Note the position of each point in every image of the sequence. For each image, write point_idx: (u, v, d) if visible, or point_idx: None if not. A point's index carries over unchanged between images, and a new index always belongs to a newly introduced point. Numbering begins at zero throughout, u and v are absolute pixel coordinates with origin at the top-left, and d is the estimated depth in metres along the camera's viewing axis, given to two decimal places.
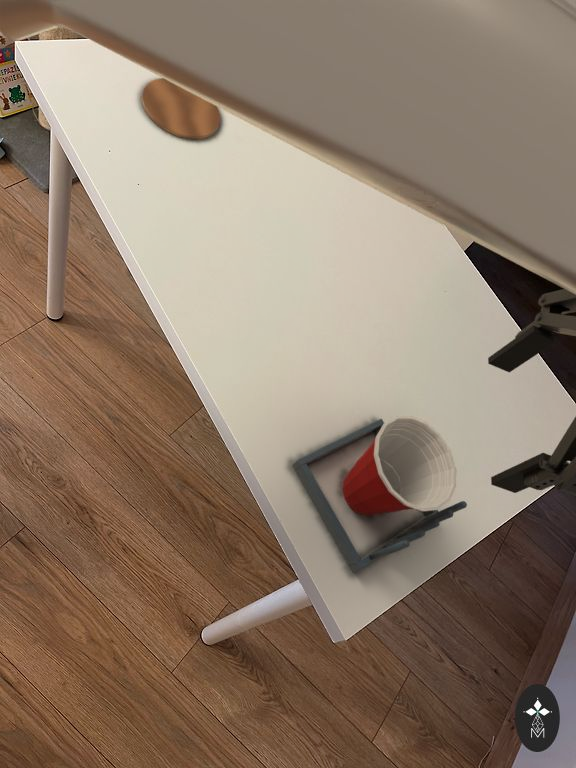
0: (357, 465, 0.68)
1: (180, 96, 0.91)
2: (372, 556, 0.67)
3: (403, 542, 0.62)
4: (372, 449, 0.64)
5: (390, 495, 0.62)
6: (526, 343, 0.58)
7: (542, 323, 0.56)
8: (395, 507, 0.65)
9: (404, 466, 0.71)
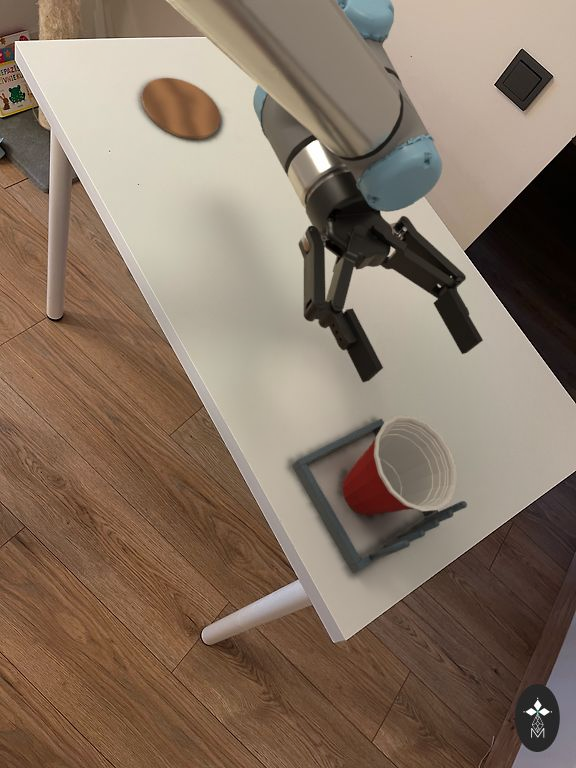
0: (357, 465, 0.68)
1: (180, 96, 0.91)
2: (372, 556, 0.67)
3: (403, 542, 0.62)
4: (372, 449, 0.64)
5: (390, 495, 0.62)
6: None
7: (344, 301, 0.57)
8: (395, 507, 0.65)
9: (404, 466, 0.71)
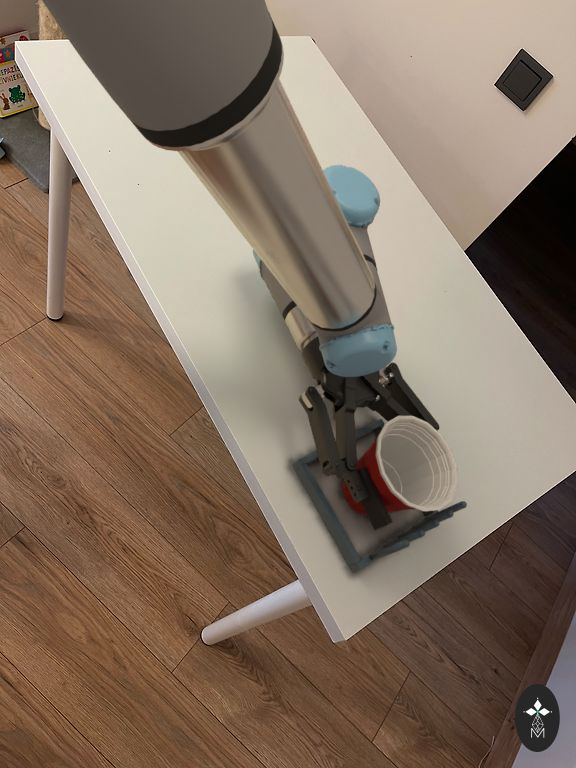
0: (358, 465, 0.68)
1: None
2: (372, 556, 0.67)
3: (403, 542, 0.62)
4: (374, 449, 0.64)
5: (392, 495, 0.62)
6: None
7: (356, 457, 0.65)
8: (396, 507, 0.65)
9: (404, 466, 0.71)
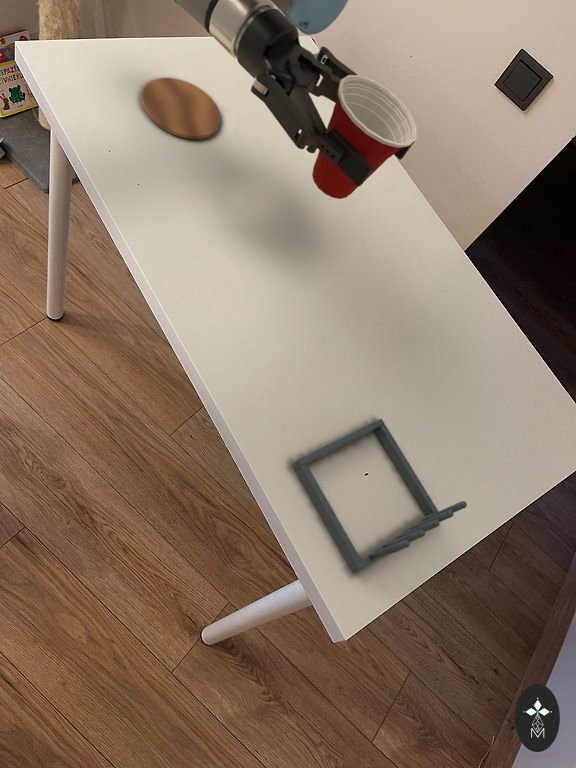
0: None
1: (180, 96, 0.91)
2: (372, 556, 0.67)
3: (403, 542, 0.62)
4: (337, 108, 0.67)
5: (366, 141, 0.66)
6: None
7: (322, 122, 0.68)
8: (371, 160, 0.69)
9: None
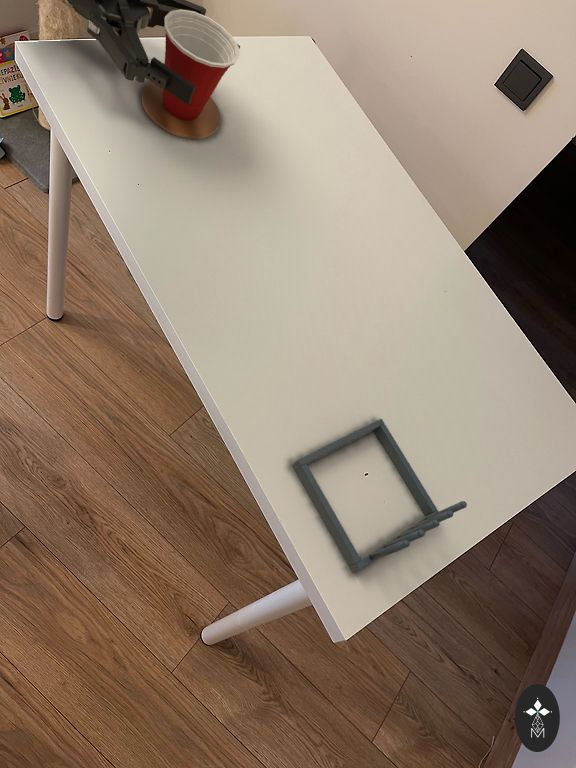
0: None
1: None
2: (372, 556, 0.67)
3: (403, 542, 0.62)
4: (167, 42, 0.80)
5: (198, 66, 0.80)
6: None
7: (145, 54, 0.79)
8: (207, 82, 0.83)
9: None
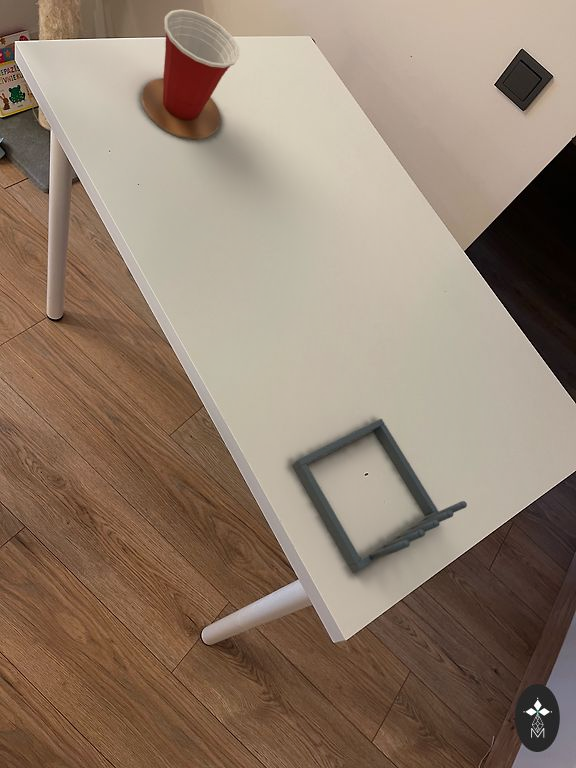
0: (165, 73, 0.84)
1: None
2: (372, 556, 0.67)
3: (403, 542, 0.62)
4: (167, 42, 0.80)
5: (198, 66, 0.80)
6: None
7: None
8: (207, 82, 0.83)
9: None
